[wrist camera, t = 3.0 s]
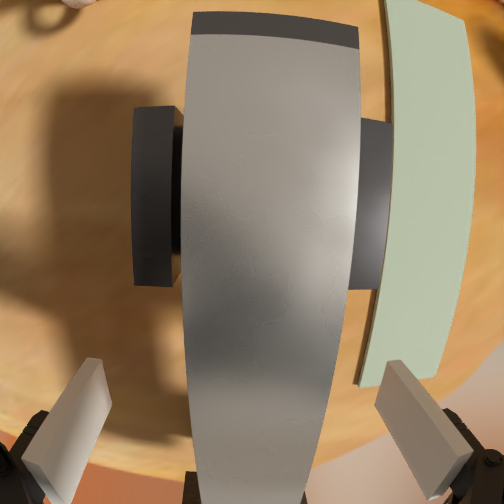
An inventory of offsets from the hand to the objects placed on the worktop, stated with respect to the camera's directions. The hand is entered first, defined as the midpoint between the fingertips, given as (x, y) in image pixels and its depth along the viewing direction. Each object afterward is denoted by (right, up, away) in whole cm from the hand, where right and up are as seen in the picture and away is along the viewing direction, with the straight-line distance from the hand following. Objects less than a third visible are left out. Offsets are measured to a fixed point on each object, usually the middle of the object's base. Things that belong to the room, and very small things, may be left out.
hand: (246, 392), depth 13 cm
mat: (+12, +10, +5) cm, 16 cm away
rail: (0, 0, -1) cm, 1 cm away
